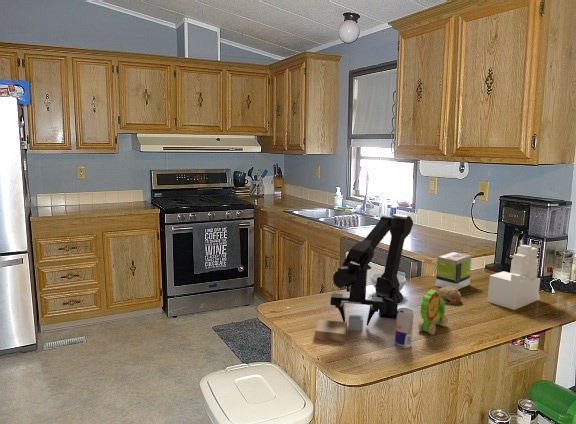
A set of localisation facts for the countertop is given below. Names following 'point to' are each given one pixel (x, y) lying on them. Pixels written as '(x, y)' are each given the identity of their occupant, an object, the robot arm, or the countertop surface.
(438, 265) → the tea box
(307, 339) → the countertop surface
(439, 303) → the toy lion
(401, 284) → the chinaware
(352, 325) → the blue-grey squarish block
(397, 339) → the energy drink
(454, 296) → the bread roll
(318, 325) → the base block
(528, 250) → the building blocks
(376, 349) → the countertop surface
